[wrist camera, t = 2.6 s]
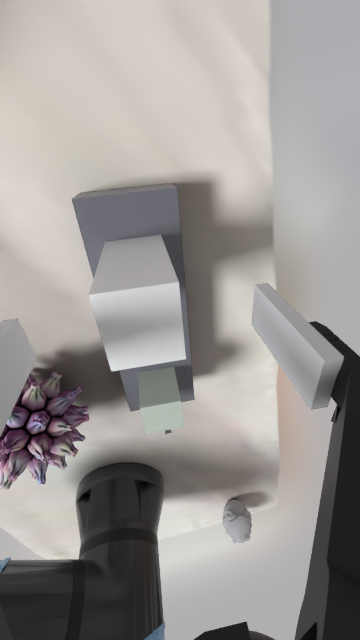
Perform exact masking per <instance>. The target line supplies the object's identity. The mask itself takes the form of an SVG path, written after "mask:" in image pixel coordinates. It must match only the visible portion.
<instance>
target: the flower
mask: <svg viewBox="0 0 360 640" xmlns="http://www.w3.org/2000/svg"><path fill="white" fill-rule="evenodd" d="M61 377H62V375H61V374H59V373H57V372H53V373H52V375H51V376H50V377H49V378H47V379H46V380H44V381H42V382H41V383H38V382H37V381H36V380H35V379H34V377H33V376H32V375H31V373H30V374H29V376H28V378H27V380H26V383H25V385H24V387H23V389H22V391H21V393H20V395H19V397H18V400H17V402H16V404H15V406H14V408H13V410H12V412H11V415H10V417H9V419H8V421H7V423H6V425H5V427H4V429H3V432H2V434H1V436H0V462H1V461H2V462H1V465H0V474H1V484H0V489H5V490H6V489H7V490H8V489H9V488H10V486H11V484H12V482H14V481H15V480H16V479H17V477H18V476H19V475H21V474H22V473H23V471H24V470H25V468H26V467H27V469H28V470H29V472H30V473H31V474H32V477H33V479H34V480H35V479H37V480H38V483H39V484H45V481H46V478H45V473H46V469H47V467H48V463H49V464H52V465H55V466H58V467H59V468H60V469H61V470H62V469H64V468H65V467H67V464H66V462H65V455H69V456H71V457H75V455H76V454H77V452H78V449H76V448H75V447H74V445H73V443H72V442H73V441H83V440H84V439H85V436H83V435H81V434H80V433H79V432H78V430H77V429H75V427H77V426H79V425H80V424H81V423H83V422H85V421H89V414H83V413H84V412H87V411H88V410H87V406H84V407H78V406H75V405H72V404H73V402H74V401H75V399H76V397H77V395H78V394H79V393H80V392H81V391H82V387H78V388H76V389H74V390H68V391H64V392H62V393H59V392H60V384H59V383H60V379H61Z"/></svg>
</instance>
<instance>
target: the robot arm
mask: <svg viewBox="0 0 360 640" xmlns="http://www.w3.org/2000/svg"><path fill="white" fill-rule="evenodd" d="M252 326H253V327H254V329H255V330H256V332H257V333H258V334H259V336H260V337H261V339H262V340H263V342H264V343H265V345H266V346H267V347H268V349H269V350H270V352H271V353H272V355H273V356H274V358H275V359H276V360H277V362H278V363H279V365H280V366H281V368H282V369H283V371H284V372H285V374H286V375H287V376H288V378H289V379H290V381H291V382H292V383H293V385H294V386H295V388H296V389H297V391H298V392H299V394H300V395H301V397H302V398H303V399H304V401H305V402H306V404H307V405H308V407H309V408H310V410H312V409H318V408H323V407H327V406H328V404H329V401H330V398H331V397H332V398H333V400H334V401H335V402H336V403H337V406H336V409H335V411H334V414H333V417H332V420H331V421H332V422H333V427H332V432H331V439H330V445H329V451H328V457H327V463H326V469H325V475H324V481H323V487H322V494H321V499H320V506H319V512H318V518H317V525H316V530H315V537H314V543H313V549H312V554H311V560H310V567H309V573H308V579H307V585H306V591H305V596H304V600H303V603H302V607H301V610H300V615H299V619H298V624H297V630H296V636H295V640H360V357H359V356H358V355H357V354H356V353H355V352H354V351H353V350H352V349H351V348H350V347H348V346H347V345H346V344H345V343H344V342H343V341H342V340H340V338H338V337H337V336H336V335H334V333H333V332H332V331H331V330H330V329H328V328H327V327H326V326H324V325H322V324H320V323H318V322H316V321H315V322H307V320H305V319H304V318H303V317H302V316H301V315H300V314H299V313H298V312H297V311H296V310H295V309H294V308H293V307H292V306H291V305H290V304H289V303H288V302H287V301H286V300H285V299H284V298H283V297H282V296H281V295H280V294H279V293H278V292H277V291H275V290H274V289H273V288H272V287H271V286H270V285H269V284H268V283H262V284H255V287H254V300H253V313H252ZM36 359H37V356H36V354H35V352H34V350H33V348H32V346H31V344H30V342H29V340H28V338H27V336H26V334H25V332H24V330H23V328H22V326H21V324H20V322H19V320H18V318H17V319H10V320H3V321H2V322H1V324H0V436H1V434H2V432H3V429H4V427H5V425H6V423H7V421H8V419H9V417H10V415H11V412H12V410H13V408H14V406H15V404H16V402H17V400H18V397H19V395H20V393H21V391H22V389H23V387H24V385H25V383H26V380H27V378H28V376H29V374H30V372H31V370H32V368H33V366H34V363H35V361H36ZM163 499H164V485H163V478H162V476H161V474H160V473H159V472H158V471H156V470H155V469H153V468H151V467H149V466H145V465H141V464H133V463H123V464H115V465H110V466H106V467H103V468H100V469H97V470H95V471H93V472H91V473H90V474H88V475H87V476H86V477H84V478H83V479H82V481H81V482H80V484H79V486H78V489H77V496H76V511H77V518H78V525H79V532H80V538H81V547H80V555H79V560H71V559H67V560H11V558H6V559H5V560H0V640H164V629H165V623H164V621H163V608H162V594H161V581H160V568H159V554H158V540H157V530H158V525H159V520H160V514H161V509H162V504H163ZM194 640H274V639H273V638H271V637H269V636H267V635H264V634H261V633H258V632H254V631H249V630H248V626H247V622H243V623H239V624H235V625H231V626H227V627H223V628H219V629H215V630H211V631H207V632H204V633H203V634H201V635H200V636H198V637H197V638H195V639H194Z"/></svg>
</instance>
